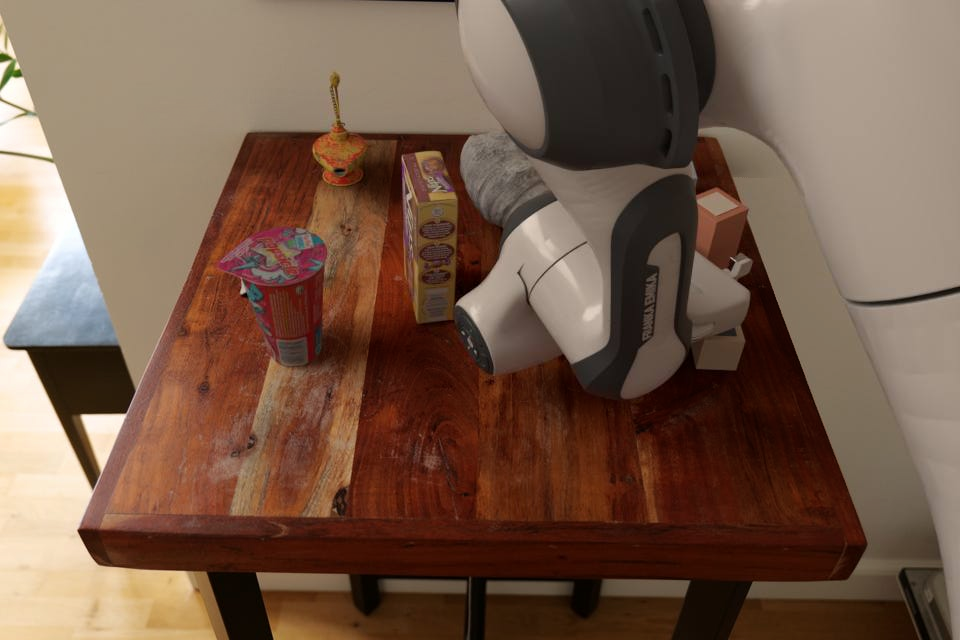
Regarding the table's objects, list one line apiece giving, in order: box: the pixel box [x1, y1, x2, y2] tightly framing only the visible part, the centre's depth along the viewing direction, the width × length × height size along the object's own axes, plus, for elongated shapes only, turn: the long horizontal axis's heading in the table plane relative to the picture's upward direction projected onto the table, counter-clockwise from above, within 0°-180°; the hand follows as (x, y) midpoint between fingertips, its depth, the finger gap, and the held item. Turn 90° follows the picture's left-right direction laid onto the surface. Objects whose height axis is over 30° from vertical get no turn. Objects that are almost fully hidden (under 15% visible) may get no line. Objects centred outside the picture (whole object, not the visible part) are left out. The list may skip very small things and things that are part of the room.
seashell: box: [459, 129, 551, 229], centre depth 99 cm, size 16×15×10 cm
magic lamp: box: [312, 70, 369, 187], centre depth 104 cm, size 7×18×11 cm, turn 8°
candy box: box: [401, 150, 459, 325], centre depth 87 cm, size 9×4×15 cm, turn 13°
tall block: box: [695, 186, 750, 270], centre depth 89 cm, size 4×4×12 cm
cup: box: [215, 226, 328, 368], centre depth 81 cm, size 9×8×12 cm
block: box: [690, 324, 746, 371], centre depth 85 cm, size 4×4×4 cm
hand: (712, 237), depth 88 cm, fingers open, 8 cm apart
